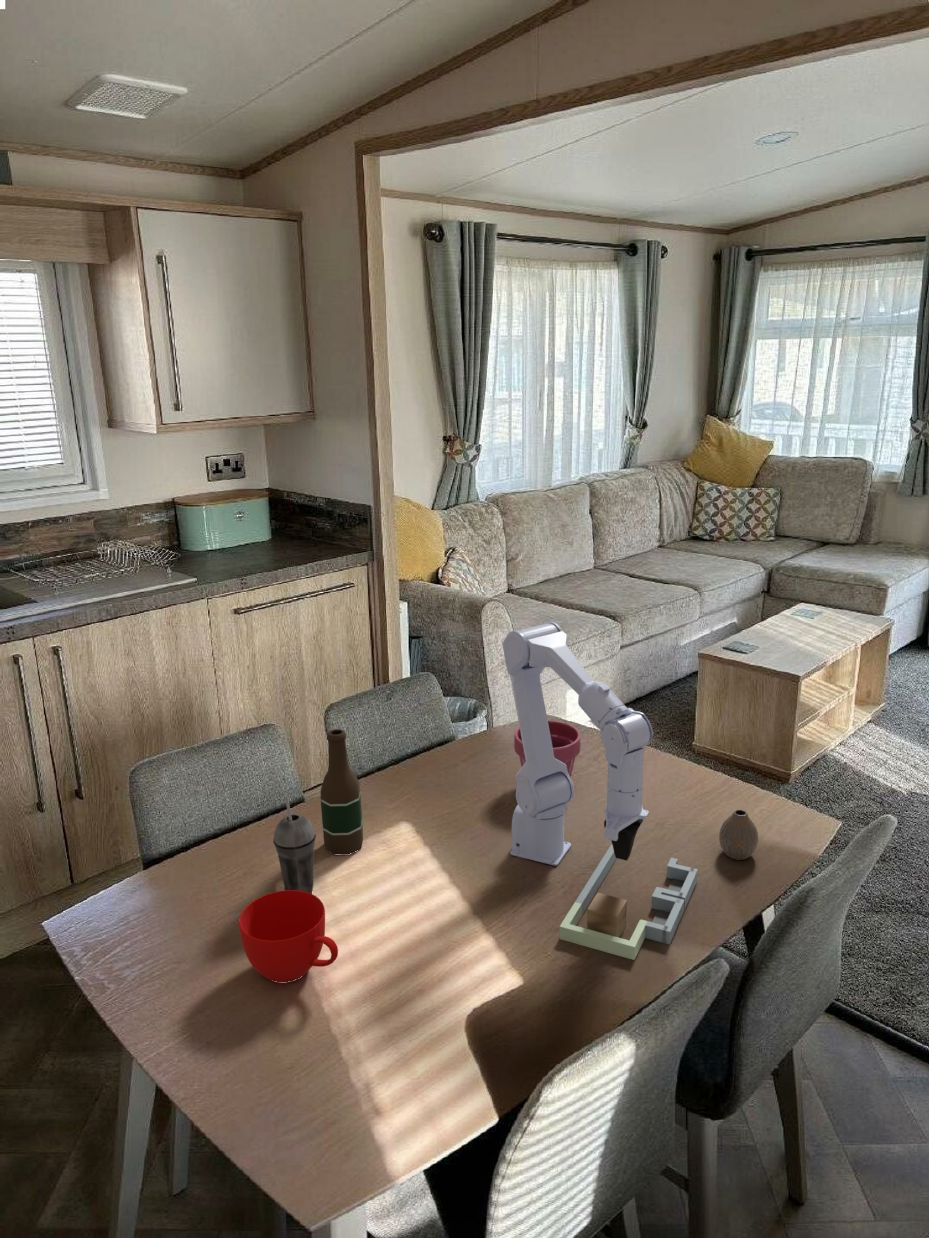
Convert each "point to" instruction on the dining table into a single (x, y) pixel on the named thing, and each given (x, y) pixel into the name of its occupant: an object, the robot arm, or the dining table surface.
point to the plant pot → (556, 743)
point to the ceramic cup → (285, 934)
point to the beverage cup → (295, 851)
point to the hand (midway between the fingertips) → (622, 857)
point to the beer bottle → (340, 800)
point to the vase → (738, 836)
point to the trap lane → (659, 929)
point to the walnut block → (607, 915)
